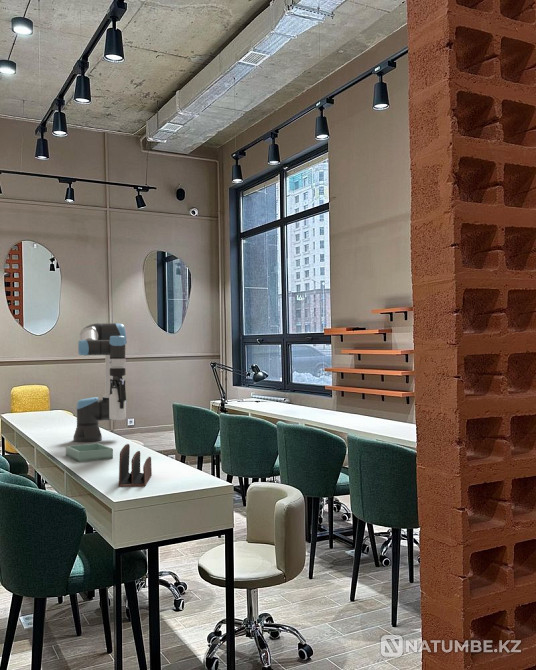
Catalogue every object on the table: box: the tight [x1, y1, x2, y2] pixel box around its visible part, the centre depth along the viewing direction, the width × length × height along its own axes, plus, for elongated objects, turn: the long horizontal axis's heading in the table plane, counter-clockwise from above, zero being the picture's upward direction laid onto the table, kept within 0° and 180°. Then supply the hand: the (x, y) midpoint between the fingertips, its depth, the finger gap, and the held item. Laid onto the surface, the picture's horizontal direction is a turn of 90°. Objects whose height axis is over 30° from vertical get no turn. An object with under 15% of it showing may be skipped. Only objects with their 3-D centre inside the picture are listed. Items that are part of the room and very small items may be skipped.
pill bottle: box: [109, 388, 127, 421], centre depth 315 cm, size 8×8×15 cm
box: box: [65, 442, 114, 463], centre depth 307 cm, size 20×16×4 cm
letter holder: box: [118, 443, 153, 488], centre depth 254 cm, size 10×20×14 cm, turn 3°
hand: (117, 414), depth 315 cm, fingers closed on pill bottle, 8 cm apart
